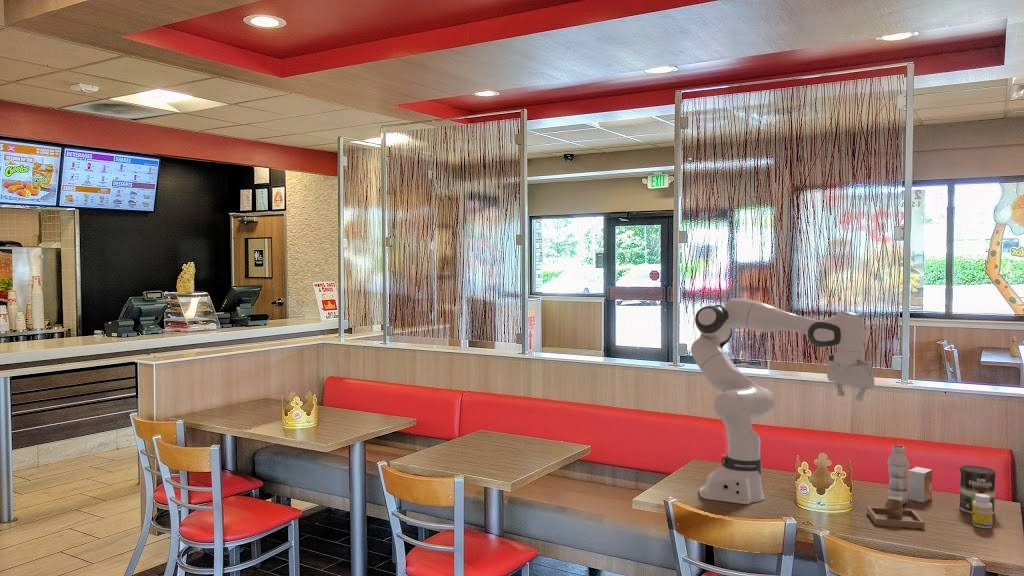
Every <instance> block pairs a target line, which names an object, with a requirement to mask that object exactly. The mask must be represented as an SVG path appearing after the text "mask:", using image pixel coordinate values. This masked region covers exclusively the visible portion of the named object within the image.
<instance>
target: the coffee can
mask: <svg viewBox="0 0 1024 576" xmlns="http://www.w3.org/2000/svg"><path fill="white" fill-rule="evenodd" d="M996 474H997V472H996V471H995V470H993V469H992V468H989V467H983V466H980V465H979V466H978V465H961V466H959V499H958V500H959V505H958V508H959V510H961V511H962V512H965V513H968V514H971V515H972V504H973V501H975V500H976V499H975V494H986V495H989V496H990V501H989V502H990V503H991V504H992V516H993V515H995V502H996V500H995V495H996V494H995V493H996Z"/></svg>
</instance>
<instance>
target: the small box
mask: <svg viewBox="0 0 1024 576" xmlns="http://www.w3.org/2000/svg"><path fill="white" fill-rule="evenodd" d="M907 491H908V495H909V500H908V501H914V502H919V503H927V502H928V501H929V500H932V499H933V469H930V468H925V467H920V466H915V467H913V468H912V469H908V471H907Z"/></svg>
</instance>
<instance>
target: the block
mask: <svg viewBox="0 0 1024 576" xmlns="http://www.w3.org/2000/svg"><path fill="white" fill-rule="evenodd" d="M903 507H904V504H903V497H897V496H890V495H889V496H888V497H887V507H886V508H887V519H897V520H902V509H903Z"/></svg>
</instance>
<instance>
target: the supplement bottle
mask: <svg viewBox="0 0 1024 576" xmlns="http://www.w3.org/2000/svg"><path fill="white" fill-rule="evenodd" d="M975 499H976V500H975V501H973V504H972V514H971V515H972V516H971V517H972V520H971V521H972V525H973V526H975V527H977V528H980V529H991V528H992V527H993V515H992V504H991V503H990V502H989V501H990V496H989V495H986V494H975Z"/></svg>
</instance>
